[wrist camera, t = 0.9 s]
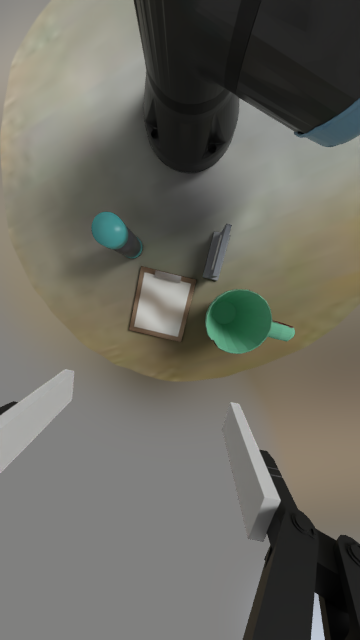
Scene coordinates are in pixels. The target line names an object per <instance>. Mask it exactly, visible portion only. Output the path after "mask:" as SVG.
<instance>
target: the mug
mask: <svg viewBox="0 0 360 640" xmlns="http://www.w3.org/2000/svg"><path fill="white" fill-rule="evenodd" d="M205 326H206V331H207V334H208V336H209V337H210V339H211V340H213V341H214V343H215V345H216V346H217V347H218V348H219V349H221V350H223V351H226V352H228V353H235V354H241V353H245V352H250V351H252V350H253V349H255V348H257V347H259V346H260V345H261V344H262V343H263V342H264V341H265V340H266V338H267V337H271V338H275V339H279V340H283V341H288V340H290V339H291V338H292V337H293V336H294V334H295V330H294V328H293V327H292V326H289V325H286V324H283V323H280V322H277V321H273V320H272V314H271V309H270V307H269V306H268V304H267V302H266V300H264V299H263V298H262V297H261V296H260V295H259V294H257V293H255V292H253V291H250V290H244V289H235V290H230V291H226V292H224V293H223V294H221V295H219V296H218V297H216V299H215V300H214V301H213V302H212V303H211V304H210V306H209V308H208V311H207V313H206V319H205Z"/></svg>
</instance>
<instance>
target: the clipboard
mask: <svg viewBox="0 0 360 640" xmlns="http://www.w3.org/2000/svg"><path fill="white" fill-rule="evenodd" d="M196 281H197V280H196V279H192V278H188V277H183V276H179V275H175V274H171V273H167V272H163V271H159V270H155V269H151V268H147V267H143V266H141V270H140V276H139V281H138V286H137V291H136V297H135V302H134V307H133V312H132V318H131V323H130V328H129V330H132V331H136V332H140V333H145V334H149V335H153V336H157V337H161V338H166V339H170V340H174V341H178V342H181V340H182V336H183V332H184V328H185V324H186V320H187V316H188V312H189V308H190V304H191V300H192V296H193V292H194V288H195V284H196Z"/></svg>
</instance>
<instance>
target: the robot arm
mask: <svg viewBox="0 0 360 640" xmlns="http://www.w3.org/2000/svg"><path fill="white" fill-rule="evenodd" d="M134 5H135V10H136V16H137V21H138V26H139V32H140V37H141V42H142V48H143V53H144V59H145V64H146V81H145V93H144V106H143V110H144V121H145V126H146V130H147V134H148V138H149V141H150V144H151V146H152V148H153V150H154V152H155V153H156V155H157V156H158V157H159V158H160V160H161V161H162V162H164V163H165V164H166V165H167V166H169V167H171V168H173V169H175V170H177V171H181V172H189V173H190V172H198V171H202V170H204V169H207V168H209V167H210V166H212V165H213V164H215V163H216V162H217V161H218V160H219V159H220V158H221V157H222V156H223V154H224V153H225V152H226V150H227V148H228V147H229V145H230V142H231V140H232V137H233V134H234V131H235V128H236V124H237V120H238V114H239V98H241V99H242V100H244V101H245V102H247V103H249V104H250V105H252V106H254V107H255V108H257V109H259V110H260V111H262V112H263V113H265V114H267V115H268V116H270V117H272V118H273V119H275V120H277V121H278V122H280V123H282V124H283V125H285V126H286V127H288V128H290V129H291V130H293V131H294V134H295V135H296V136H298V137H301V138H302V137H306V138H308V139H310V140H312V141H314V142H316V143H318V144H320V145H321V146H325V147H333V146H336V145H339V144H344V143H346V142H348V141H350V140H352V139H354V138H355V137H357V136H359V135H360V0H134ZM73 381H74V371H72V370H67V369H65V370H63V371H62V372H60V373H59V374H58V375H56V376H55V377H53V378H52V379H51V380H49V381H48V382H46V383H45V384H44V385H42V386H41V387H39V388H38V389H37V390H35V391H34V392H32V393H31V394H30V395H28V396H27V397H25V398H24V399H23V400H21V401H20V402H11V403H9V404H6V405H5V406H2V407H0V473H1V472H2V471H3V470H4V469H5V468H6V467H7V466H8V465H9V464H10V463H11V462H12V461H13V460H14V459H15V458H16V457H17V456H18V455H19V454H20V453H21V452H22V451H23V450H24V449H25V448H26V446H27V445H28V444H29V443H30V442H31V441H32V440H33V439H34V438H35V437H36V436H37V435H38V434H39V433H40V432H41V431H42V430H43V429H44V428H45V427H46V426H47V425H48V424H49V423H50V422H51V421H52V420H53V419H54V418H55V417H56V416H57V415H58V414H59V413H60V411H62V410H63V408H65V407H66V405H67V404H68V403H69V402H70V401H71V400H72V394H73ZM222 431H223V436H224V440H225V444H226V448H227V452H228V457H229V461H230V465H231V469H232V473H233V477H234V481H235V486H236V490H237V494H238V498H239V503H240V507H241V511H242V515H243V519H244V523H245V528H246V532H247V536H248V539H252V540H257V541H262V542H263V541H264V539H265V537H266V534H267V535H268V538H269V541H270V544H271V545H270V547H269V550H268V552H267V554H266V556H265V559H264V560H265V564H264V568H263V571H262V575H261V578H260V581H259V585H258V588H257V592H256V595H255V599H254V602H253V606H252V610H251V612H250V616H249V619H248V623H247V626H246V630H245V633H244V637H243V640H311V629H312V617H313V604H314V592H315V593H317V594H318V595H319V601H320V609H321V615H322V623H323V629H324V636H325V640H360V544H359V543H358V542H356V541H355V540H354V539H352V538H351V537H348V536H346V535H340V536H339V537H338V539H337V540H334V539H333V538H331V537H329V536H327V535H325V534H324V533H322V532H320V531H319V530H317V529H316V528H315V527H314V525H313V524H312V522H311V521H310V519H309V518H308V517H307V516H306V515H305V514H304V513H303V512H301V511H300V510H298V508H297V506H296V504H295V502H294V500H293V498H292V496H291V494H290V492H289V490H288V488H287V486H286V484H285V481H284V480H283V478H282V475H281V473H280V471H279V470H278V468H277V465H276V463H275V461H274V459H273V458H272V457H271V456H270V454H269V453H268V452H267V451H263V450H259V449H258V446H257V444H256V442H255V439H254V437H253V435H252V432H251V430H250V428H249V425H248V423H247V421H246V418H245V416H244V414H243V411H242V409H241V407H240V404H237V403H232V402H230V405H229V408H228V411H227V415H226V418H225V421H224V425H223V428H222Z"/></svg>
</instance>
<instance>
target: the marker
mask: <svg viewBox="0 0 360 640" xmlns="http://www.w3.org/2000/svg"><path fill="white" fill-rule="evenodd" d="M92 234H93V236H94V238H95V239H96V241H97V242H98V243H100V244H101V245H103V246H105V247H107V248H110V249H113V250H115V251H117V252H119V253H121V254H123V255H124V256H126V257H128V258H132V259H134V258H137V257H139V256H140V255H141V253H142V250H143V246H142V243H141V241H140V240H139V239H138V238H137V237H136V236H135V235H134V234H133V233H132V232H131V231H130V230H129V229H128V228H127V227H126V225H125V224H124V223H123V221H122V220H121V219H120V218H119V217H118V216H117V215H115V214H114V213H111V212H102V213H100V214H98V215H97V216H96V217H95V218H94V220H93V222H92Z"/></svg>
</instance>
